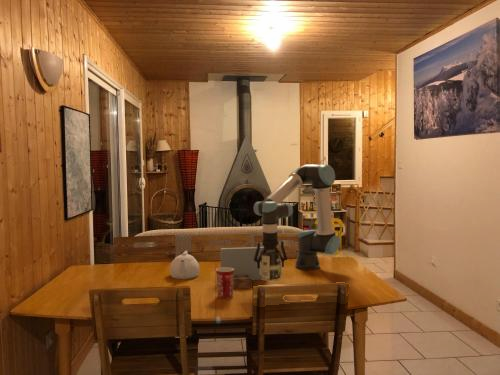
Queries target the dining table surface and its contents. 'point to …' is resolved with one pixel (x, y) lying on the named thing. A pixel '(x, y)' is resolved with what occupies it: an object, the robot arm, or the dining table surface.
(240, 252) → the backboard
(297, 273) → the dining table surface
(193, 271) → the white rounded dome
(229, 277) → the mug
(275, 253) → the coffee can
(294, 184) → the robot arm
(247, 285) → the cleat ledge
